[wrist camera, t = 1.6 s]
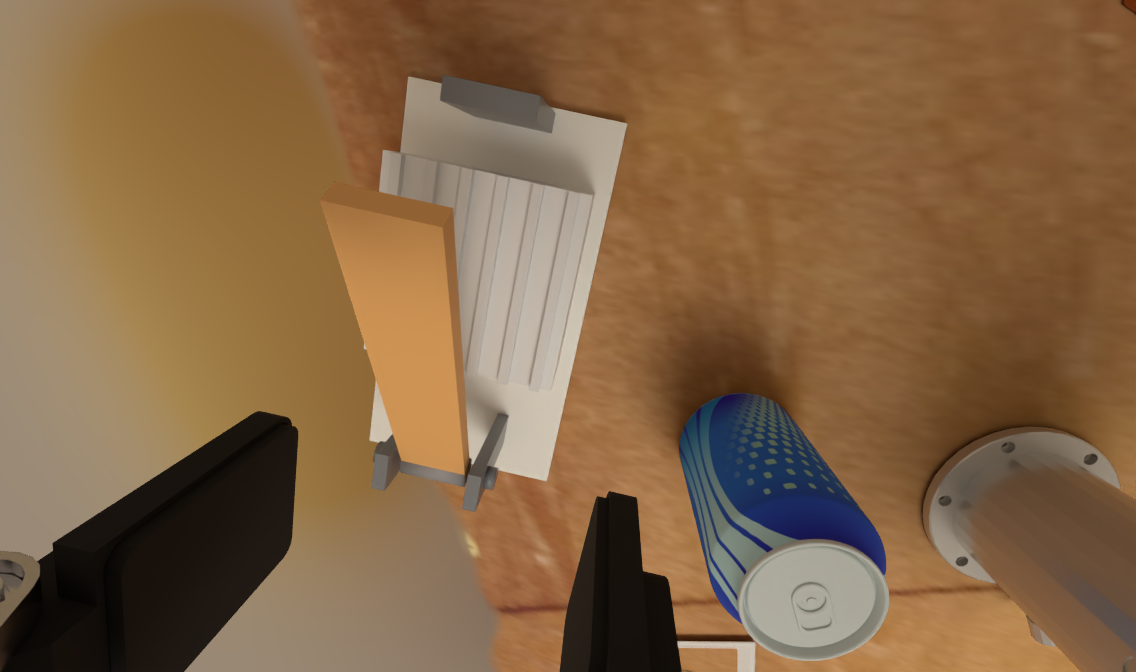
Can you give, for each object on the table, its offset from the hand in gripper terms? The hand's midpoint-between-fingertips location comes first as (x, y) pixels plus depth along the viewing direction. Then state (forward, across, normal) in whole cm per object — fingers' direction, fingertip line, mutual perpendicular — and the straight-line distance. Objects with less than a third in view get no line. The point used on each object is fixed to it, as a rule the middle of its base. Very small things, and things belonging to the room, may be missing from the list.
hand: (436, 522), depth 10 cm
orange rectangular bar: (+15, +5, +4) cm, 16 cm away
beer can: (+28, -15, +9) cm, 33 cm away
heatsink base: (+28, +5, +3) cm, 28 cm away
